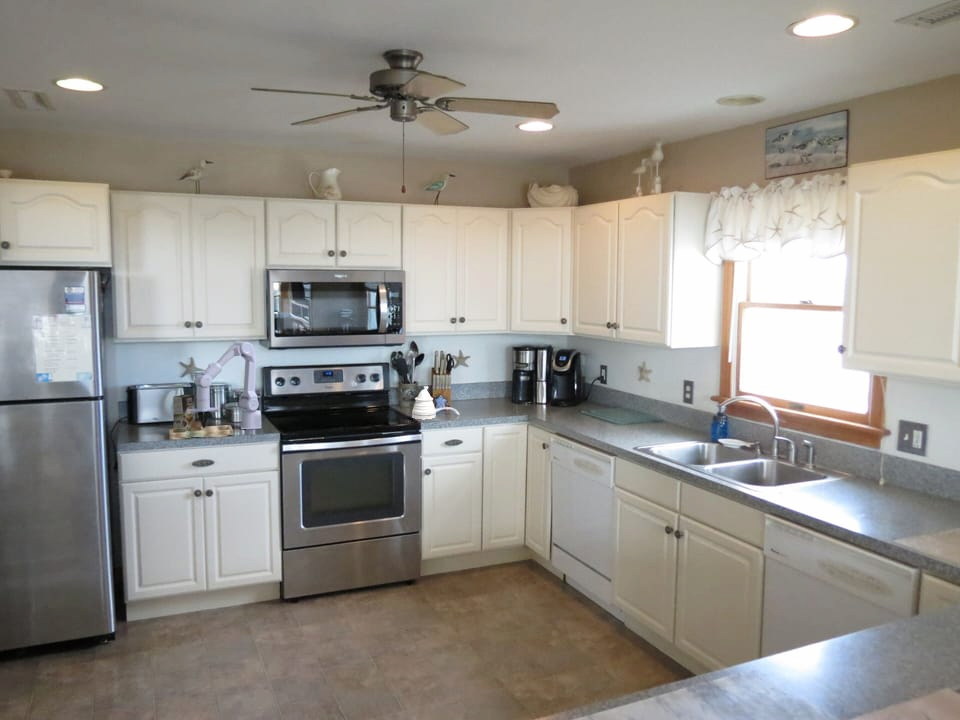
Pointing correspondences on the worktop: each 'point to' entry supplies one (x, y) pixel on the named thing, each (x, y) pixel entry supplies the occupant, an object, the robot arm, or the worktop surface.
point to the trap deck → (201, 432)
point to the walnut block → (195, 425)
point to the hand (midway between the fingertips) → (204, 427)
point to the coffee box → (183, 410)
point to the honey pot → (424, 406)
